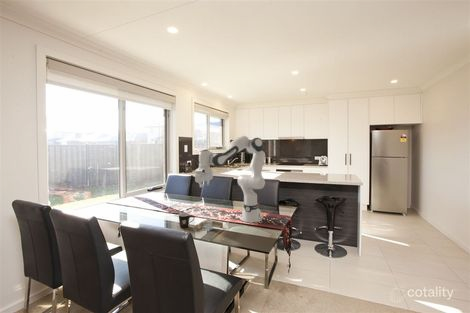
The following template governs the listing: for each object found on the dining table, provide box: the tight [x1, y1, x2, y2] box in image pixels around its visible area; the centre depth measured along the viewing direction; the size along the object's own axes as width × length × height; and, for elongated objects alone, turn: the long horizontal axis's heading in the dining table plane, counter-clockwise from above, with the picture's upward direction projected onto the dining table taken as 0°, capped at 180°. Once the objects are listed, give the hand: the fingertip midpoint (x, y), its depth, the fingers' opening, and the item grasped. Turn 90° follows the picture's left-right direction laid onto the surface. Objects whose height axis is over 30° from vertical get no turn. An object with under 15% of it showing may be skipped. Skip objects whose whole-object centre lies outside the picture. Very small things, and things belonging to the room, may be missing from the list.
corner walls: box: [193, 218, 224, 232], centre depth 182 cm, size 17×16×4 cm
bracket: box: [201, 219, 214, 232], centre depth 182 cm, size 7×5×6 cm
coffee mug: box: [178, 212, 195, 229], centre depth 186 cm, size 12×9×10 cm
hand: (204, 186), depth 192 cm, fingers open, 8 cm apart
